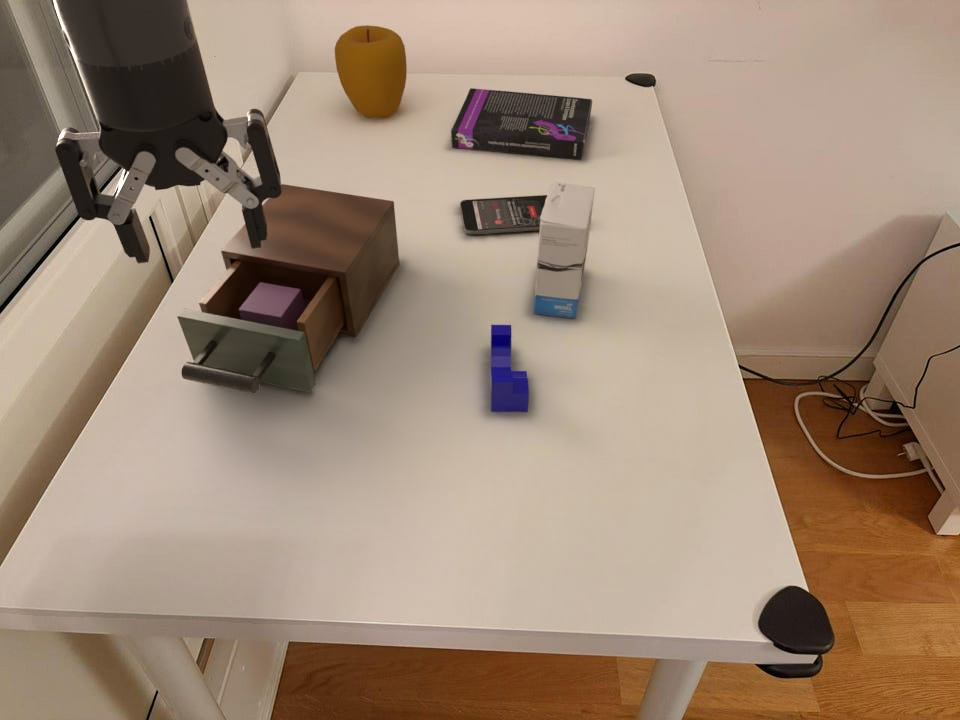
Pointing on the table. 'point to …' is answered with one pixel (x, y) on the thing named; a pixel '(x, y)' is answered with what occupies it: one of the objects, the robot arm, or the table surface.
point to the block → (274, 306)
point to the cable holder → (506, 375)
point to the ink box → (562, 249)
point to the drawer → (261, 331)
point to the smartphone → (502, 214)
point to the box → (522, 123)
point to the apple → (372, 69)
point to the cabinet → (328, 244)
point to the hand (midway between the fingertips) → (201, 250)
